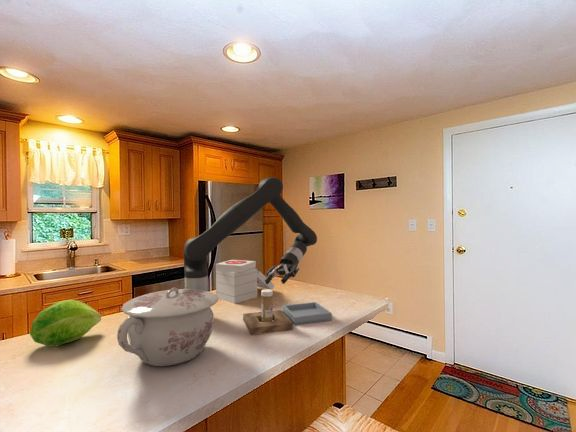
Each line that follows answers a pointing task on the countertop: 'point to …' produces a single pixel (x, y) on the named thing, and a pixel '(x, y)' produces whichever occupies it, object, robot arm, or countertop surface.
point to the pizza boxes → (239, 280)
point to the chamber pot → (167, 325)
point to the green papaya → (63, 322)
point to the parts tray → (306, 313)
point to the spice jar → (267, 305)
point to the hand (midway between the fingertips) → (274, 282)
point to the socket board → (267, 323)
